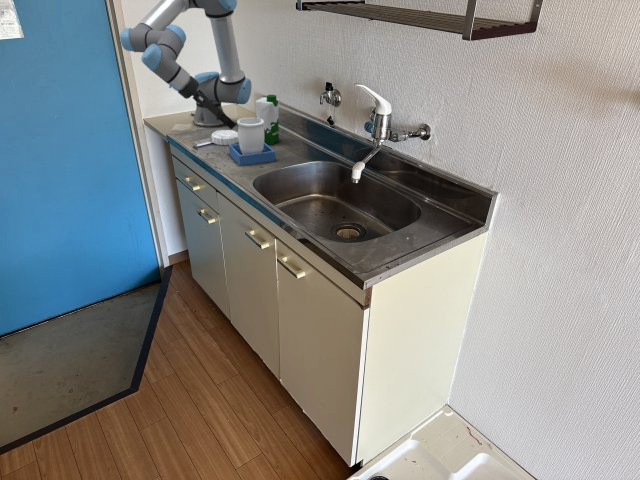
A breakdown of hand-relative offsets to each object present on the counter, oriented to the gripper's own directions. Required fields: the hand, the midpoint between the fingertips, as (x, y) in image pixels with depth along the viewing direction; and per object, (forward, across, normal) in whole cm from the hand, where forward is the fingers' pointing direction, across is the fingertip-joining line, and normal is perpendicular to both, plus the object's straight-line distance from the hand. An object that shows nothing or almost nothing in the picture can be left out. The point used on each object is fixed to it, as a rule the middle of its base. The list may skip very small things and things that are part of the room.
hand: (228, 121), depth 178 cm
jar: (+17, 0, -5) cm, 18 cm away
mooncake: (+15, -24, -8) cm, 29 cm away
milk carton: (+27, -17, +4) cm, 32 cm away
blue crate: (+17, 0, -5) cm, 18 cm away
